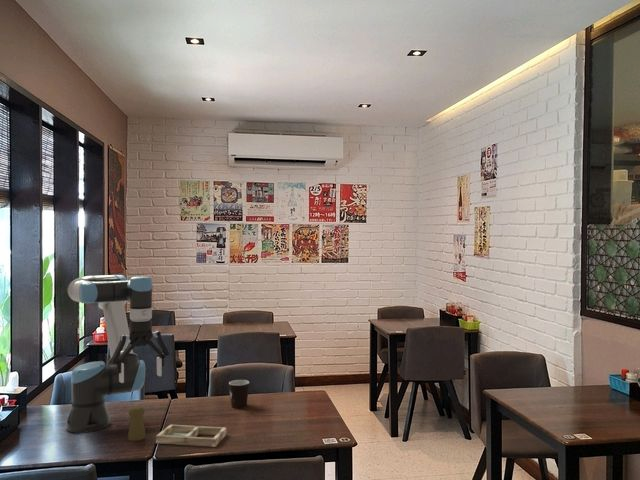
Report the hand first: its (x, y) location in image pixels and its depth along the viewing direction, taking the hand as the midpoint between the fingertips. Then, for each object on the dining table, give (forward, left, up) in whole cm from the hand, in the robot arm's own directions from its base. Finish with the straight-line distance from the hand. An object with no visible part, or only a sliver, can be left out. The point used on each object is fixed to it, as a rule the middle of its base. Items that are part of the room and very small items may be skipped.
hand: (140, 378), depth 186 cm
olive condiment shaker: (-1, -1, -21) cm, 21 cm away
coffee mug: (+24, +40, -21) cm, 51 cm away
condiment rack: (+19, +1, -21) cm, 28 cm away
